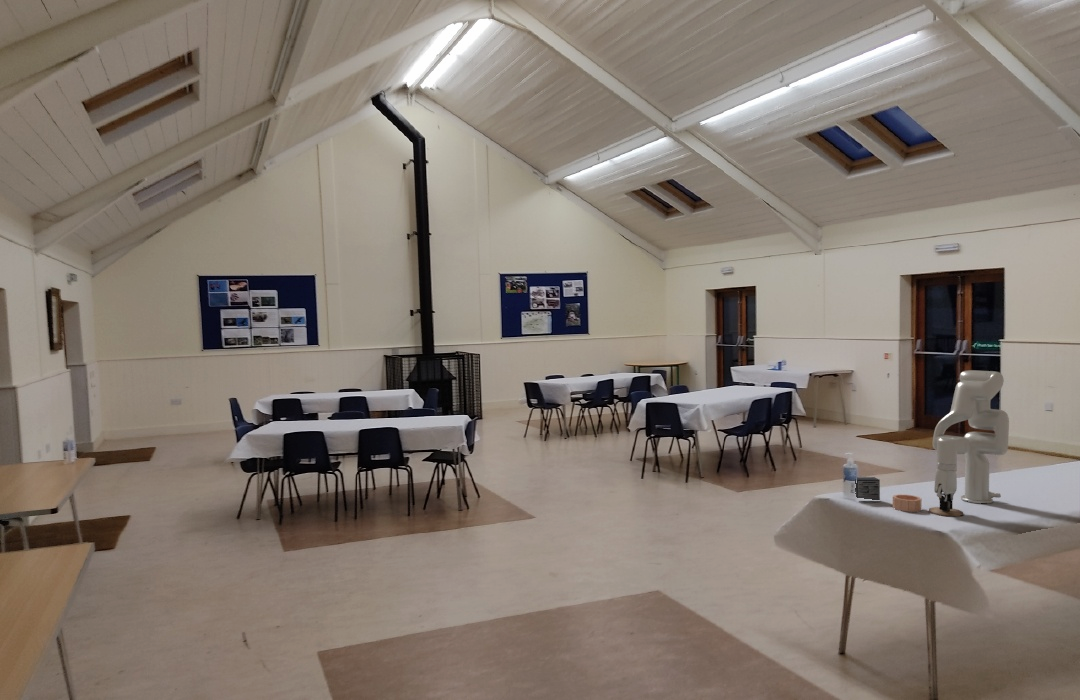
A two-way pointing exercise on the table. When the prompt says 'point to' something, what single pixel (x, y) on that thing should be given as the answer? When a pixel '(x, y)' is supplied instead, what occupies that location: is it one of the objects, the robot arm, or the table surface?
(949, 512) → the lid
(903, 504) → the bowl
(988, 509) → the table surface
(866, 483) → the small box
